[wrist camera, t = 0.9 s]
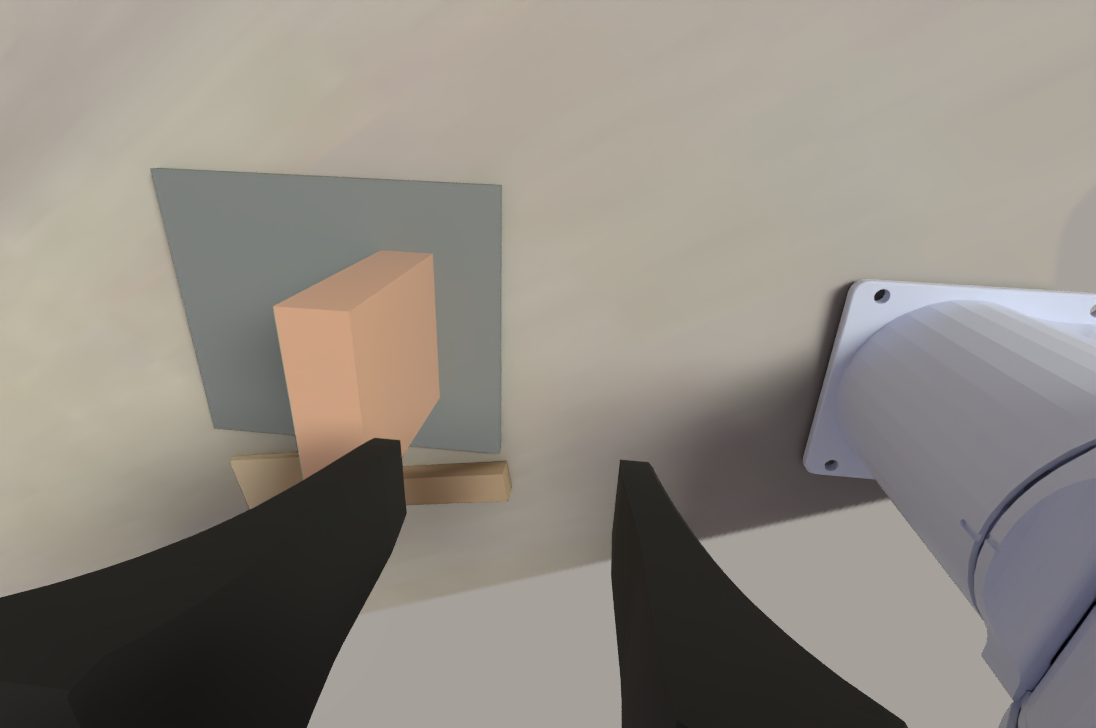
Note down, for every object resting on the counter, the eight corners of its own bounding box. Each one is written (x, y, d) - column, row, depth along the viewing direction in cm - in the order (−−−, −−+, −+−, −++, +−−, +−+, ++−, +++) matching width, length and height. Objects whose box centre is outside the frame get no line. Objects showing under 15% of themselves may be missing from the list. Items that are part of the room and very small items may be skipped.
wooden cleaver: (502, 439, 23) (498, 452, 22) (515, 507, 25) (512, 521, 24) (236, 454, 25) (222, 466, 24) (262, 516, 27) (249, 529, 26)
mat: (501, 185, 19) (499, 186, 19) (500, 448, 23) (499, 454, 23) (158, 167, 20) (150, 168, 20) (220, 423, 24) (214, 428, 24)
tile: (432, 253, 20) (348, 311, 13) (439, 397, 22) (372, 504, 16) (376, 250, 20) (267, 305, 14) (389, 393, 22) (302, 497, 16)
